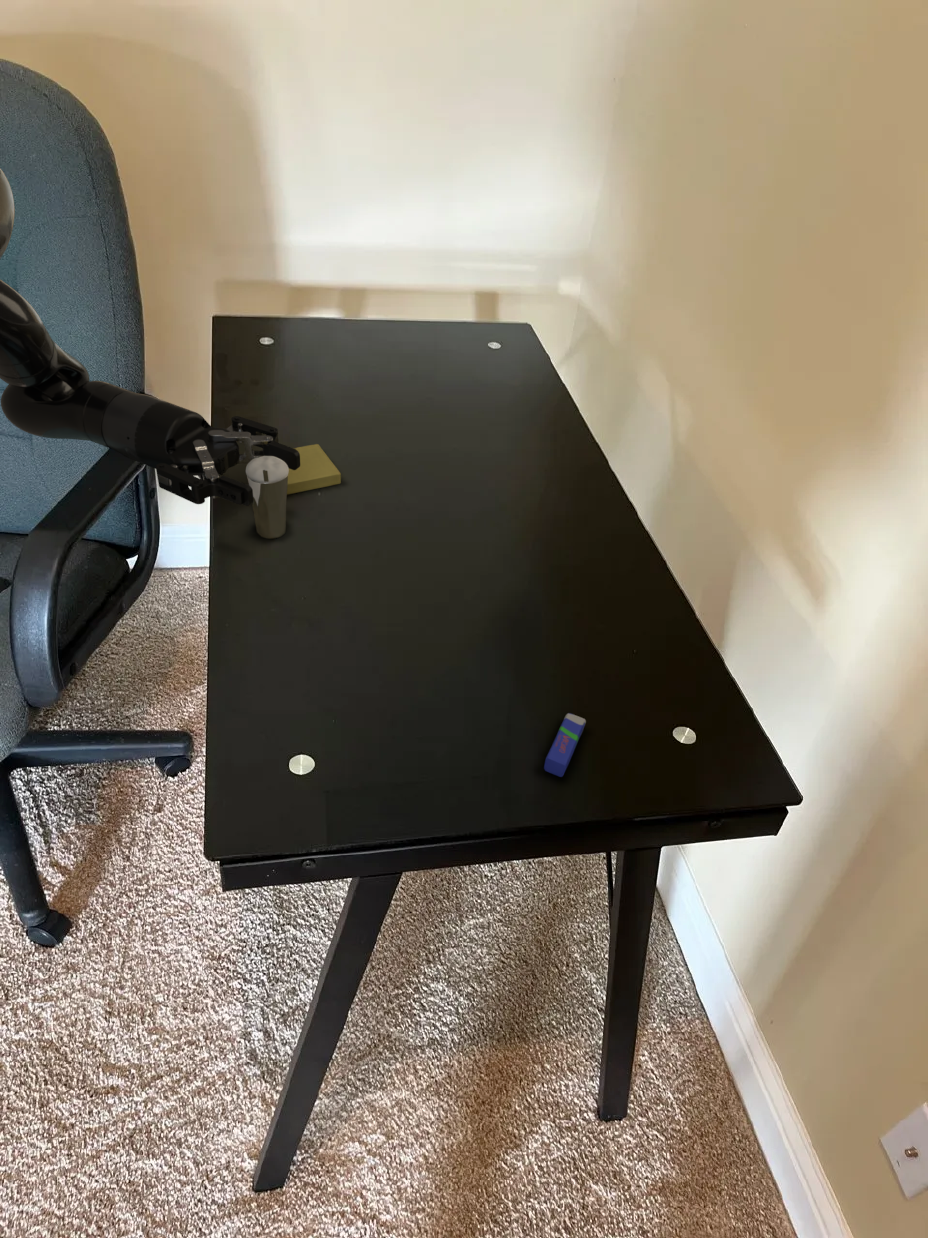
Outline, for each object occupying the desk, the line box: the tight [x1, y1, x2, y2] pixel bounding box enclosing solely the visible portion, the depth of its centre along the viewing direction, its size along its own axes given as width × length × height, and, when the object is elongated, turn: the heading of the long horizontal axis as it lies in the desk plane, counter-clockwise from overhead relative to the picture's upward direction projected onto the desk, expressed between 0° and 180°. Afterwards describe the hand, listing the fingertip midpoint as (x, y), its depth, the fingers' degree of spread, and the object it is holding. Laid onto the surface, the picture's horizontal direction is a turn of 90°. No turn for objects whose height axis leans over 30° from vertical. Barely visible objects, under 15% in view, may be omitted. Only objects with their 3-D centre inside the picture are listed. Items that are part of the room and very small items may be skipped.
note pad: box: [287, 443, 342, 496], centre depth 103 cm, size 8×8×2 cm
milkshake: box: [245, 456, 289, 540], centre depth 91 cm, size 4×5×10 cm
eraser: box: [543, 712, 587, 778], centre depth 74 cm, size 2×6×2 cm, turn 157°
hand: (275, 478), depth 89 cm, fingers open, 8 cm apart
